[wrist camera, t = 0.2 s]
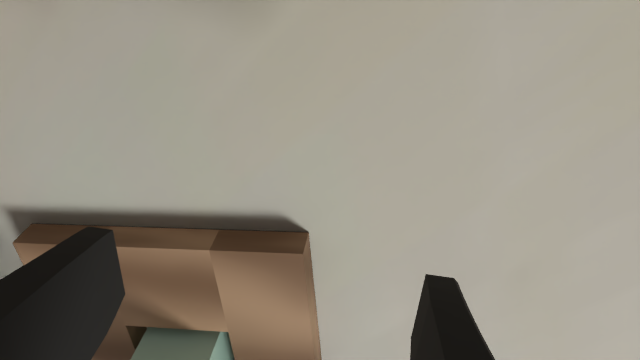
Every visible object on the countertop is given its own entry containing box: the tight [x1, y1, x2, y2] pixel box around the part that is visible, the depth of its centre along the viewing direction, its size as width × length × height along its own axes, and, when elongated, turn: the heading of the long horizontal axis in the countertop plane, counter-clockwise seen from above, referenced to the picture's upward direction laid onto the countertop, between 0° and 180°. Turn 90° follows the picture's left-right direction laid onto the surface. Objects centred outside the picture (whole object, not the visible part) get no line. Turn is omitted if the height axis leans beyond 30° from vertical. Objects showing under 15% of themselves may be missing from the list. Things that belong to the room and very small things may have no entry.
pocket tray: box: [13, 224, 322, 360], centre depth 28 cm, size 16×14×2 cm
